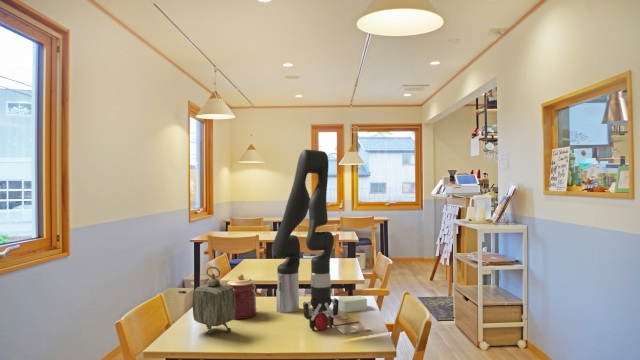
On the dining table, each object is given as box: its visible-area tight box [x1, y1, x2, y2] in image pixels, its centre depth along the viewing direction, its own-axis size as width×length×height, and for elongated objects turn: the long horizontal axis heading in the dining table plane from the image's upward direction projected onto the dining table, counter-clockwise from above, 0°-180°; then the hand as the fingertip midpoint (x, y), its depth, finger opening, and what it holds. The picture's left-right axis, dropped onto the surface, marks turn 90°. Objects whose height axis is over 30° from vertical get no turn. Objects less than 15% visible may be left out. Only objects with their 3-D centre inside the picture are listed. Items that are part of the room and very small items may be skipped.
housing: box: [338, 295, 368, 313], centre depth 190 cm, size 11×6×6 cm, turn 111°
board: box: [332, 314, 373, 337], centre depth 170 cm, size 11×22×1 cm, turn 21°
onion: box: [314, 311, 329, 331], centre depth 165 cm, size 6×6×8 cm
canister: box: [226, 273, 257, 320], centre depth 187 cm, size 13×13×18 cm
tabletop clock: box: [192, 266, 235, 335], centre depth 166 cm, size 14×9×25 cm, turn 59°
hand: (321, 327), depth 165 cm, fingers open, 6 cm apart
